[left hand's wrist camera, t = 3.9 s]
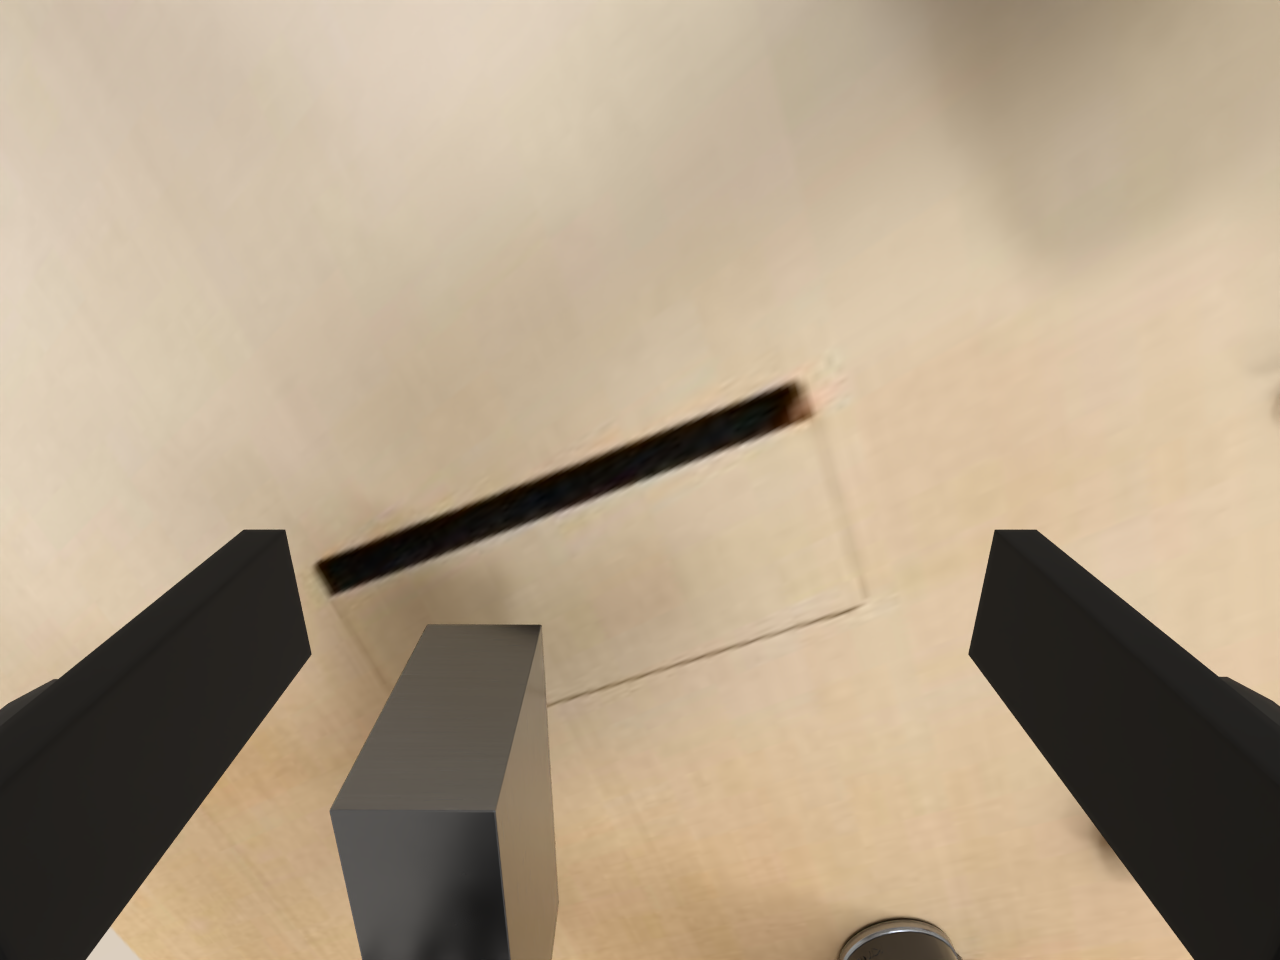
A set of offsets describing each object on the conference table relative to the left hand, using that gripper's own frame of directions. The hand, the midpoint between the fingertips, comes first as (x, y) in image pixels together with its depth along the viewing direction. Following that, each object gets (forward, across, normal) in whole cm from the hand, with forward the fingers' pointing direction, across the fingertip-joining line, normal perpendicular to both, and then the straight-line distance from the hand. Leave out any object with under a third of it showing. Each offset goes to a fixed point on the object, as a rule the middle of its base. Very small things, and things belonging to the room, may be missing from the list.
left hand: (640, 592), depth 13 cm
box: (+20, -8, -24) cm, 33 cm away
